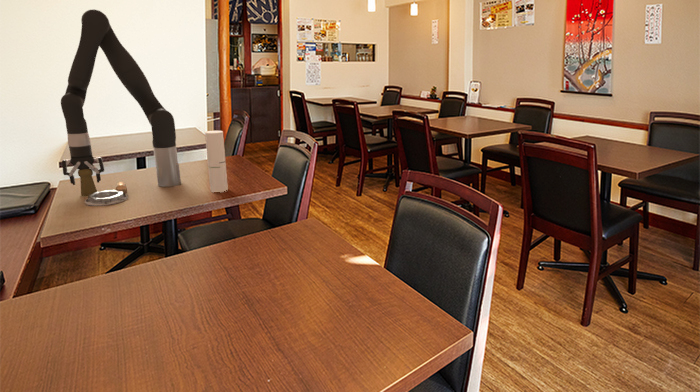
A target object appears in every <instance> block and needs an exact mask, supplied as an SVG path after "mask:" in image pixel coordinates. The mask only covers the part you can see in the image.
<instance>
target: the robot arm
mask: <svg viewBox="0 0 700 392" xmlns="http://www.w3.org/2000/svg"><path fill="white" fill-rule="evenodd" d="M80 20H81V29H80V30H81V31H80V38H79V43H78V45H77V46H78V47H77V49H76V53H75V55H74V58H73V60H72V63H71V67H70V71H69V73H68V77H67V87H66V90H65V94H64V95H62V97H61V99H60V106H61V111H62V114H63V117H64V121H65V127H66V128H65V129H66V133H67V134H66V135H67V145H68V149H69V156H70V159H65V158H63V159H62V160H61V165H62V174H63V175H64V176H68V177H69V181H70V184H72V185H73V186H75V185H76V181H75V179H76V178H75V175H74V174H75V172H76V171H77V170H82V169H89V168H90V169H92V171H93V173H95V177H96V183H97V184H99V183H100V181H101V180H102V179H101V173H103V172H105V166H104V162H103V157H102V156H98V157H94V156H93V150H92V144H91V138H90V134H89V131H88V124H87V120H86V119H85V116H84V109H83V107H84V105H85V102H86V97H87V93H88V88H89V85H90V82H91V79H92V76H93V72H94V68H95V63H96V59H97V55H98V51H99V48H101V50H102V52H103V53H104V55H105V57H106V60H107V62H108V63H109V65H110V66H111V69H112V71H114V74H115V75H116V76H117V78H118V80H119V81H120V82H121V84H122V85H123V86H124V88H125V89H126V90H127V91H128V93H129V94H130V96H132V98H134V100H135V102H137V103H138V105H139V107H140V108H141V110H142V111H143V113H144V115H145V117H146V118H147V121H148V122H149V124H150V127H151V134H152V148H153V156H154V165H155V170H156V178H157V179H156V180H157V185H158V186H159V187H161V188H162V187H163V188H171V187H176V186H179V185H182V180H181V172H180V163H179V160H178V152H177V143H176V141H177V134H176V123H175V118H174V116H173V113H171V112H170V111H168V110H167V109H166V108H165V107H164V105H162V104H161V102H160V101H159V100H158V98H157V97H156V95H155V94H154V91H153V89H152V87H151V85H150V83H149V80H148V78H147V76H146V75H145V73H144V72H143V70H142V69H141V67H140V66H139V64H138V62H137V61H136V60H135V58H133V56H132V55H131V53H130V52H129V51H128V50H127V49H126V48H125V47H124V45H123V44H122V43H121V41H120V40H119V38H118V36H117V35H116V33H115V31H114V30H113V28H112V26H111V23H110V20H109V18H108V17H107V15H106V14H105V13H104V12H102V11H101V10H98V9H88V10H86V11H85V12H83V13H82V16H81V19H80ZM95 161H96V163H97V164H99V165H98V166H99V168H97V167H96V165H94V162H95ZM69 164H71V165H72V166H73V167H72V168H71V170H70V171H68V165H69Z"/></svg>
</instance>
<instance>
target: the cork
mask: <svg viewBox="0 0 700 392" xmlns="http://www.w3.org/2000/svg"><path fill="white" fill-rule="evenodd" d="M77 175H78V176H79V178H80V180H79V181H80V196H81V197H83V198H85V197H87V198H88V195H90V194H92V193H95V192H98V190H97V188H96V185H95V181H94V178H93V175H94V171H93V170H92V169H91V168H89V169H82V170H79V169H77Z"/></svg>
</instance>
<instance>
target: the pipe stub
mask: <svg viewBox="0 0 700 392" xmlns="http://www.w3.org/2000/svg"><path fill="white" fill-rule="evenodd" d="M115 190H120V191H123V194H126V195H127V192H128V188H127V186H126V183H125V182H123V181H119V182H117V184H116V187H115Z"/></svg>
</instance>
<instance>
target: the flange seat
mask: <svg viewBox="0 0 700 392" xmlns="http://www.w3.org/2000/svg"><path fill="white" fill-rule="evenodd" d="M128 198H129V197H128V195H127V193H126V194H123V191H120V190H116V189H108V190H107V189H105V190H101V191H97V192H95V193H92V194H90V195H88V196H87V199H85V200H84V204H85V205H86V206H88V207H107V206H113V205H117V204H120V203H123V202H125V201H127V200H128Z"/></svg>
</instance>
